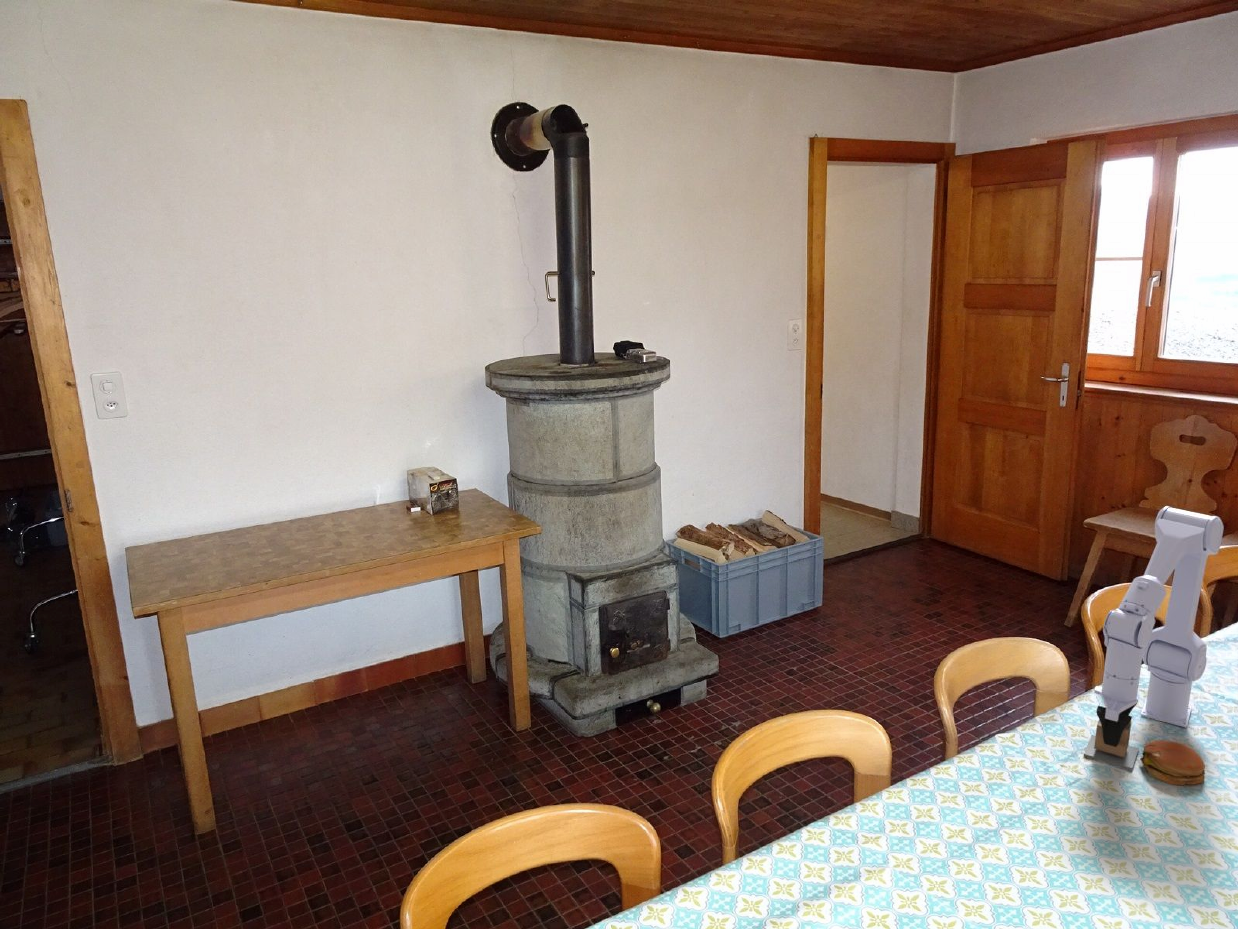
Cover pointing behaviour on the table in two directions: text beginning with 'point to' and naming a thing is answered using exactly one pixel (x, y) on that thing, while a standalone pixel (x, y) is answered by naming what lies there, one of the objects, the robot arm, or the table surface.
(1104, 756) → the slate coaster
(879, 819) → the table surface
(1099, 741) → the walnut cube
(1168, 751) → the burger
